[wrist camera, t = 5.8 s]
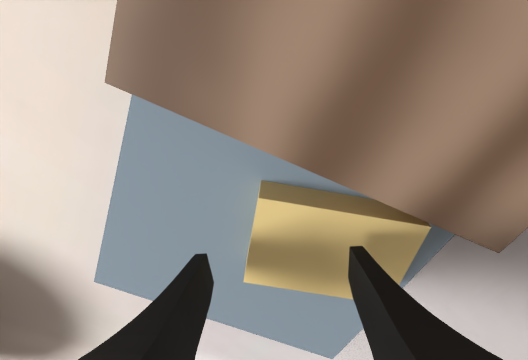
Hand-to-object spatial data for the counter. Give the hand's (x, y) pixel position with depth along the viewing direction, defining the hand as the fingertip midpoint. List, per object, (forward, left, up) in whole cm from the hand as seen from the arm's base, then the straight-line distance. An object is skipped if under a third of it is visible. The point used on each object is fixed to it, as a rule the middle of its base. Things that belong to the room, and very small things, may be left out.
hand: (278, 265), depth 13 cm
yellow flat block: (-3, -1, -3) cm, 4 cm away
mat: (0, +3, -4) cm, 5 cm away
